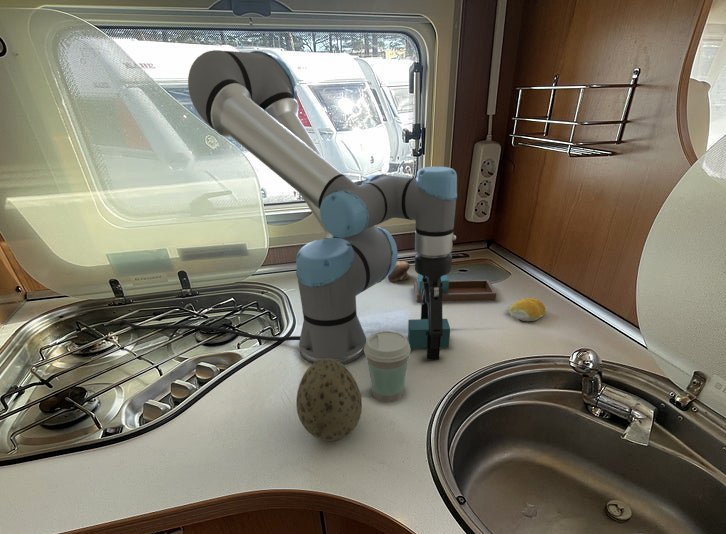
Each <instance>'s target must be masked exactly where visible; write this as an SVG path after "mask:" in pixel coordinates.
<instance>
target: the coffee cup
mask: <svg viewBox="0 0 726 534" xmlns="http://www.w3.org/2000/svg"><path fill="white" fill-rule="evenodd" d="M411 350H412V349H410V344H409V341H408V337H406V336H405V335H404V334H403V333H401V332H398V331H393V330H381V331H376V332H374V333H372V334H370V335H369V336H368V337H367V338H366V344H365V346H364V353H363V354H364V355H365V357H366V363H367V367H368V374H369V378H370V385H371V391H372V395H373V398H374V399H375V400H377V401H379V402H382V403H395V402H397V401H399V400H401V398H402V397H403V394H404V387H405V380H406V374H407V368H408V362H409V355H410V354H411Z"/></svg>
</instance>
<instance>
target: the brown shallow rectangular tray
mask: <svg viewBox="0 0 726 534" xmlns="http://www.w3.org/2000/svg"><path fill="white" fill-rule="evenodd" d="M413 290H414V291H413V292H414V295H415V300H416V303H422V302H421V299H422V297H421V296H420V293H419V289H418V280H417V281H416V280H415V281H413ZM496 298H497V292H496V289H494V287H493V284H492V283H491V282H490V280H489V279H462V280H461V279H459V280H456V279H455V280H449V286H448V293H444V294H442V303H443V302H444V303H445V302H446V303H447V302H483V301H484V302H486V301H487V302H489V301H496Z"/></svg>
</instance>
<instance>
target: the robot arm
mask: <svg viewBox="0 0 726 534" xmlns="http://www.w3.org/2000/svg"><path fill="white" fill-rule="evenodd" d="M187 76H188V77H187V88H188V93H189V98H190V100H191V103H192V105H193V108H194V109H195V110H196V112H197V114H198V115H199V116H200V117H201V119H202V120H203V121H204V123H206V124H207V125H208V126H209V127H210V128H212V130H214V131H215V132H216V133H217V134H219V135H220V136H222V137H225V138H226V137H227V138H229V137H231V138H232V139H233V140H234V141H236V142H237V144H239V145H240V146H242V147H243V148H244V149H245V150H247V151H248V152H249V153H250V154H251V155H253V156H254V157H255V158H257V159H258V160H259V161H260V162H261V163H262V164H264V165H265V166H266V167H268V168H269V169H270V170H271V171H272V172H273V173H274V174H275V175H277V176H278V177H279V178H280V179H282V180H283V181H284V182H286V183H287V184H288V185H289V186H290V187H292V188H293V189H294V190H296V192H298V193H299V194H300V196H301V197H302V199H303V200H304V202H305V204H306V205H307V206H308V208H309V210H310V211H311V213H312V214H313V216H314V217H315V219H316V221H317V222H318V224H319V226H320V227H321V228H322V230H323V232H324V233H325V234H326V237H325V238H323V239H316V240H313V241H311V242H308V243H306V244H305V245H303V246H302V247H301V248H300V249H298V252H297V254H296V257H295V258H296V259H295V263H296V271H295V274H296V279H297V283H298V284H297V285H298V291H299V297H300V301H301V302H300V303H301V309H302V317H303V322H302V327H301V332H300V335H291V336H290V335H287V336H266V335H258V334H252V333H248V332H247V333H246V332H242V331H237V330H233V329H229V328H225V327H217V326H211V325H210V326H209V325H195V324H160V325H155V324H154V325H140V324H134V323H132V322H130V321H128V320H127V319H121V320H119V321H118V324H117V325H118V326H122V325H127V326H128V327H130V328H133V329H135V330H201V331H202V330H204V331H213V332H220V333H226V334H230V335H234V336H238V337H241V338H248V339H254V340H260V341H268V342H287V341H299V342H298V347H299V353H300V355H301V356H302V357H303V358H304V360H306V361H308V362H310V363H312V364H314V363H315V362H316V361H318V360H321V359H325V358H329V359H333V360H336V361H338V362H339V363H341V364H342V365H344V364H347V363H350V362H352V361H355V360H356V359H358V358H360V357H361V356H362V355H364V354H365V353H364V346H365V344H366V341H367V337H366V334H365V331H364V329H363V326H362V324H361V323H360V320H359V317H358V314H357V313H358V312H357V296H358V295H360V294H361V293H363V292H365V291H366V290H369V289H370V288H371V287H373V286H375V285H376V284H379V283H381V282H382V281H384V280H385V279H386V278H388V275H390V274H391V273H392V271H393V270H394V268H395V266H396V263H397V262H398V261H397V260H398V253H399V252H398V247H397V243H396V241H395V239H394V237H393V236H392V234H391V233H390V232H389V231H388V230H386V229H385V228H382V227H380V226H377V225H380V224H382V223H384V222H386V221H389V220H390V219H391V220H392V219H403V220H410V221H415V233H414V236H415V237H414V251H415V254H414V271H415V272H416V274H417V275H418V274H420V275H422V276H423V278H422V288H421V294H420V296H421V297H422V299H421V302H420V303H421V305H420V306H421V307H420V319H428V324H429V331H428V332H425V335H427V349H426V361H432V360H440V352H441V348H440V339H441V336H443V323H442V319H443V302H442V294H443V283H442V282H441V276H443V275H447V276H448V274H450V272H451V271H452V263H453V262H452V261H453V254H452V252H453V245H454V244H453V243H454V242H453V241H456V240H457V236H456V235H455V234H454V230H455V218H456V217H455V216H456V205H457V199H458V174H457V172H456V170H455V169H454V168H451V167H448V166H424V167H421V168H419V169H418V170H417V172H416V177H407V176H406V177H405V176H396V175H390V174H389V175H388V174H386V173H381V174H370V175H367V176H366V177H365V180H364V181H362V183H361V184H356V183H355V182H354V181H352V180H351V179H350V178H349V177H347V175H345V174H344V173H342V172H341V171H340V170H339V169H337V168H336V167H335V166H334V165H332V164H331V163H330V162H329V161H327V160H326V159H325V157H324V156H323V154H322V153H321V151H320V150H319V148H318V146H317V145H316V143H315V142H314V140H313V138H312V137H311V135H310V134H309V132H308V130H307V129H306V127H305V125H304V124H303V122H302V121H301V119H300V118H299V116H298V114H299V109H300V106H299V103H298V91H297V89H296V86H297V83H296V80H295V77H294V75H293V72H292V71H291V69H290V67H289V66H288V65H287V63H286V62H285V61H283V59H281V58H280V57H279V56H277V55H275V54H274V53H273V54H272V53H269V52H264V51H263V50H253V51H248V52H247V51H232V50H230V51H229V50H219V49H217V50H216V49H213V50H209V51H205V52H203V53H201V54H200V55H199V56H197V58H196V59H195V60H194V61H193V62H192V64H191V66H190V69H189V72H188V75H187Z"/></svg>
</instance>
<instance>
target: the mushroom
mask: <svg viewBox="0 0 726 534" xmlns="http://www.w3.org/2000/svg"><path fill="white" fill-rule="evenodd" d="M410 268H411V265H410V263H408V262H407V261H400V260H398V261H397V263H396V266H395V268H394V270H393V271H392V273H391V274H390V275H388V276H387V279H388V281H389V282H391V283H394V282H397V281H405V280H406V279H409V278H410V277H411V274H409V273H408V271H409V269H410Z"/></svg>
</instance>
